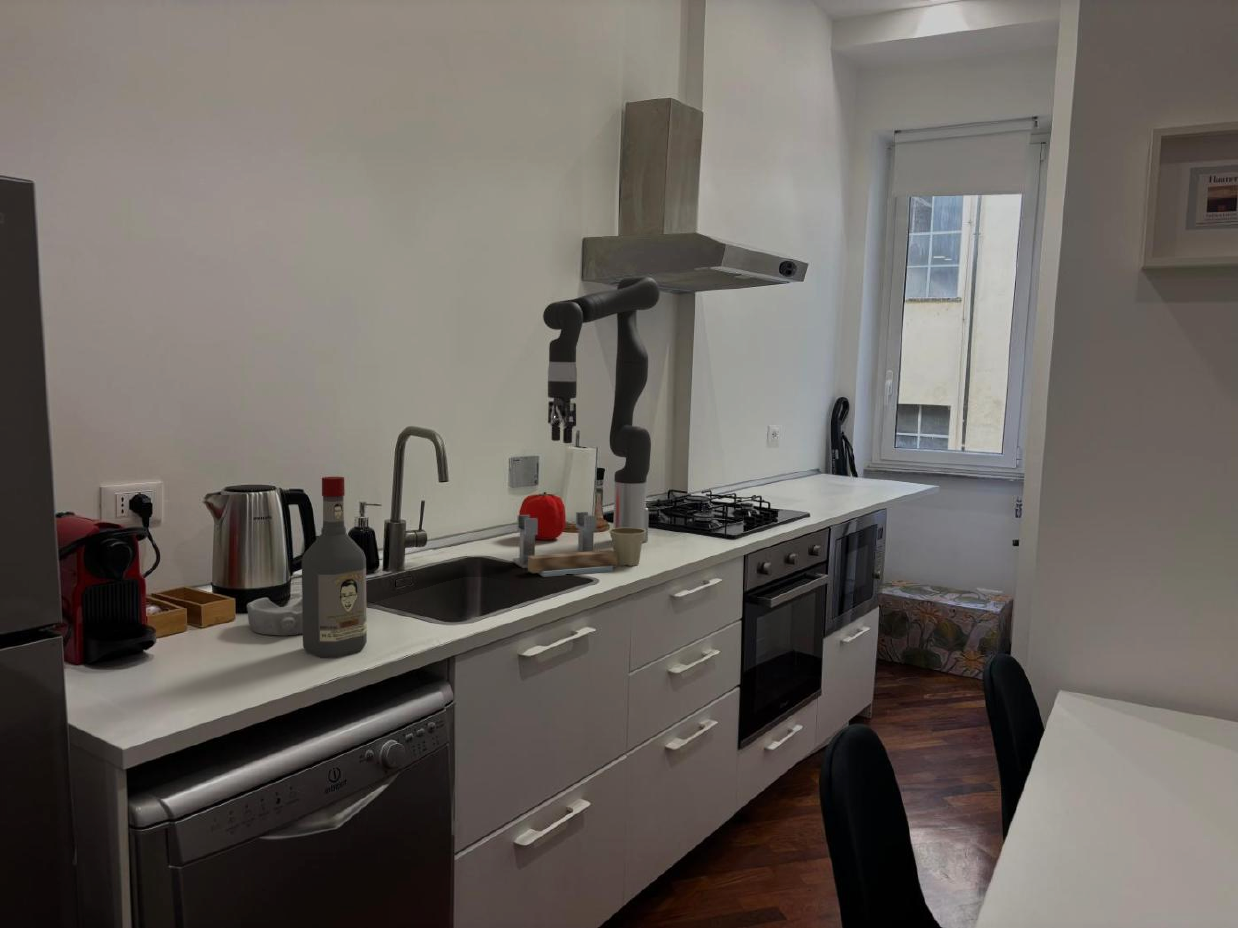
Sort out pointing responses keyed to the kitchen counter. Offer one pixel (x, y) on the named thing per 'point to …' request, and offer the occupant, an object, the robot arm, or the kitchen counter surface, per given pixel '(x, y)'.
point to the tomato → (545, 514)
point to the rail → (571, 561)
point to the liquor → (334, 583)
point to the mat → (576, 571)
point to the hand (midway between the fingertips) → (561, 441)
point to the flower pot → (627, 545)
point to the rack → (529, 530)
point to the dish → (275, 618)
